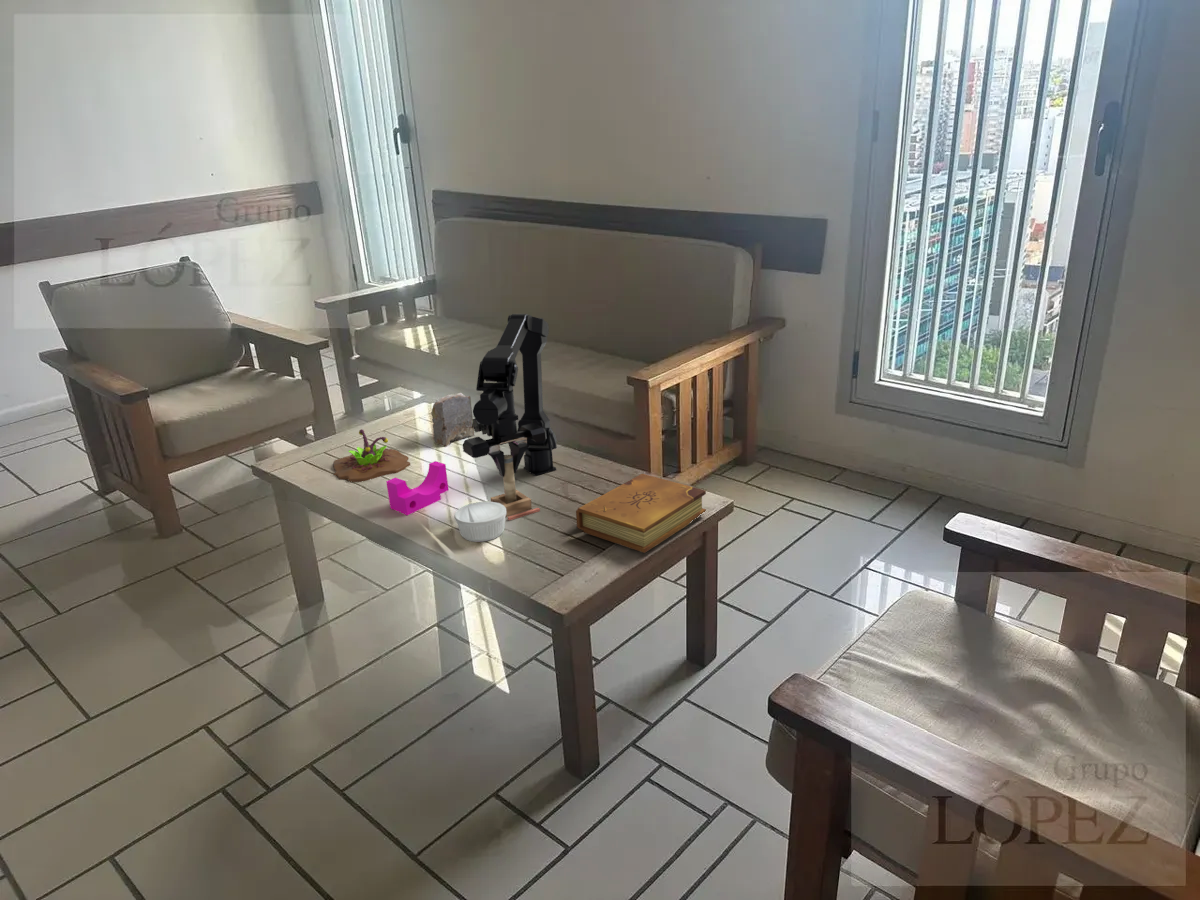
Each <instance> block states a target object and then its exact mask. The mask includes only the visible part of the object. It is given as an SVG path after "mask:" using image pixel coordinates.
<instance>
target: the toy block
mask: <svg viewBox="0 0 1200 900" xmlns="http://www.w3.org/2000/svg"><path fill="white" fill-rule="evenodd" d="M446 465H447V464H446V463H442V462H439V461H436V460H435V461H432V462H430V463H429V464H428V471H427V474H426V477H425V478H424V480H423V481H422V482H421V483H420V484H419V485H418V486H416V487H413V488H411V489H410V487H409V486H408V485H407V481H406V480H403V479H401V478H398V477H394V478H391V479H389V480H386V489H387V497H388V503H389V508H391V510H393V509H394V511H395V510H396V512H397V511H399V512H398V513H400V512H401V514H402V513H403V514H402V515H405V516H409V515H411V514H413V513H415V512H418V511H419V510H422V509H424V508H427V507H428V506H431V505H433V504H435V503H437V502H439V501H441V500H442V497H441V494H442V495H443V494H444V493H446V492H448V491H449V481H448V475H447V466H446Z"/></svg>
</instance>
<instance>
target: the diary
mask: <svg viewBox="0 0 1200 900" xmlns="http://www.w3.org/2000/svg"><path fill="white" fill-rule="evenodd" d="M705 495H707V491H706V490H705V489H703V488H698V487H694V486H690V485H686V484H683V483H679V482H675V481H672V480H668V479H664V478H660V477H657V476H652V475H648V474H645V473H641V474H638V475H637V476H635V477H633V478H632V479H629V480H628V481H626V482H624V483H622V484H620V485H619V486H616V487H615V488H613V489H611V490H609V491H608V492H606V493H604V494H602V495H600V496H599V497H596V498H595V499H592V500H591V501H589V502H587V503H585V504H583V505H581V506H580V507H578V508H577V509H576V510H575V516H576V527H577V528H578V530H581V532H582V533H585V534H587V535H590V536H594V537H597V538H600V539H603V540H605V541H609V542H611V543H614V544H618V545H621V546H623V547H625V548H629V549H631V550H635V551H638V552H641V553H645V554H646V552H648V551H650V550H651V549H653V548H654V547H656V546H658V545H660V544H661V543H662V542H664V541H665V540H667V539H668V538H670V537H672V536H673V535H674V534H676V533H678V532H679V531H681V530H682V529H684V528H685V527H687V526H688V525H689V523H690V522H691V521H692V520H694V519H695V518H697V517H698V516H699V515H700V514H702V513H703V512H705V511H706V512H707V509H705V508H703V496H705ZM697 519H698V518H697ZM694 521H695V520H694ZM691 523H692V522H691ZM691 523H690V524H691Z"/></svg>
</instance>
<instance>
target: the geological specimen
mask: <svg viewBox="0 0 1200 900" xmlns="http://www.w3.org/2000/svg"><path fill="white" fill-rule="evenodd" d="M430 413H431V417H432V418H431V421H432V423H433V424H432V431H433V432H432V433H433V442H434V444H437V445H440V446H442V447H448V446H449V445H450V443H452V442H454V441H459V440H463V439H464V438H470V437H471V438H473V437H474V436H475V431H474V427H473V419H474V415H473V409H472V399H471V396H470V395H469V396H468V395H465V394H463V393H462V392H458V393H452V394H446V395H445V396H441V397H439V398H437V400H435V402H434V404H433V405H432V408H431V412H430Z"/></svg>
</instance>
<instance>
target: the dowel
mask: <svg viewBox="0 0 1200 900" xmlns="http://www.w3.org/2000/svg"><path fill="white" fill-rule="evenodd" d="M504 465H505V476H504V477H502V479H503V480H502V481H503V490H504V494H505V502H506V504H508V503H512V502H515V501H517V499H516V490H517V489H516V481H515V474H514V467H513V456H512V455H511V454H504Z"/></svg>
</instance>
